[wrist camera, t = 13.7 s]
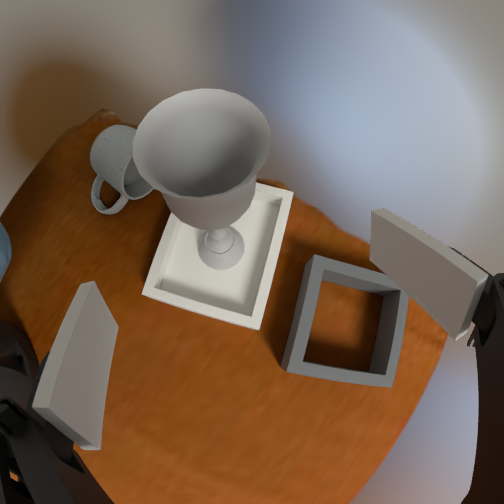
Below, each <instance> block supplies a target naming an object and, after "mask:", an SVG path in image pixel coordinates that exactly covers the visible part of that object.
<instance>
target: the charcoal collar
mask: <svg viewBox="0 0 504 504" xmlns="http://www.w3.org/2000/svg"><path fill="white" fill-rule="evenodd" d="M321 280H324V281H327V282H331V283H335V284H339V285H343V286H347V287H350V288H354V289H358V290H362V291H366V292H370V293H374V294H378V295H381V296H383V302H382V308H381V314H380V320H379V326H378V331H377V336H376V341H375V346H374V351H373V355H372V359H371V364H370V368H369V372H367V371H360V370H353V369H347V368H341V367H335V366H330V365H324V364H319V363H314V362H309V361H304V360H303V358H304V354H305V350H306V346H307V342H308V338H309V334H310V330H311V326H312V322H313V317H314V313H315V309H316V304H317V300H318V295H319V290H320V285H321ZM408 301H409V295H408V294H407V293H406V292H405V291H404V290H402V289H401V288H400V287H399V286H398V285H397V284H396V283H395V282H394V281H393V280H391V279H390V278H389V277H388V276H387V275H386V274H383V273H379V272H376V271H372V270H369V269H365V268H362V267H358V266H355V265H351V264H347V263H344V262H340V261H337V260H333V259H330V258H326V257H322V256H319V255H315V254H314V255H313V256H312V258H311V259H310V260H309V261H308V262H307V263H306V264H305V268H304V272H303V277H302V281H301V286H300V290H299V295H298V299H297V303H296V307H295V311H294V316H293V320H292V324H291V328H290V332H289V336H288V339H287V343H286V347H285V351H284V355H283V358H282V362H281V366H280V367H281V368H282V369H284V370H285V371H286V372H291V373H296V374H301V375H306V376H311V377H317V378H322V379H328V380H335V381H341V382H348V383H355V384H363V385H372V386H381V387H391V388H392V385H393V381H394V377H395V373H396V369H397V365H398V360H399V355H400V350H401V345H402V340H403V334H404V329H405V322H406V316H407V309H408Z"/></svg>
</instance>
